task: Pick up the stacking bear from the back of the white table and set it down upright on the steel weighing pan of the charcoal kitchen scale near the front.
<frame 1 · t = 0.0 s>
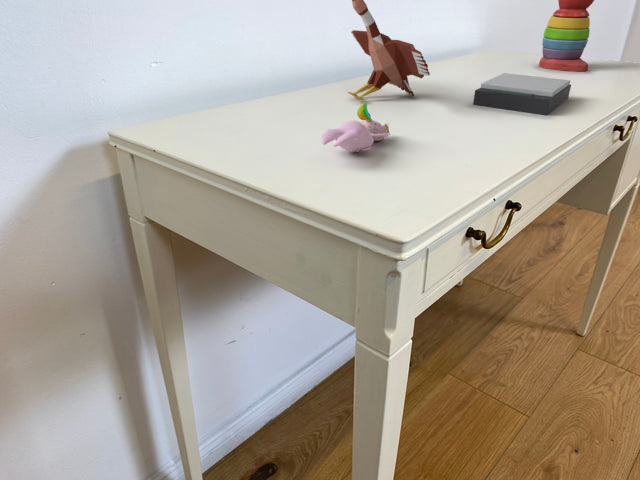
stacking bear: (560, 67, 117), on the table
scale: (521, 101, 87), on the table
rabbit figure: (356, 151, 64), on the table
decorative bird: (380, 98, 90), on the table
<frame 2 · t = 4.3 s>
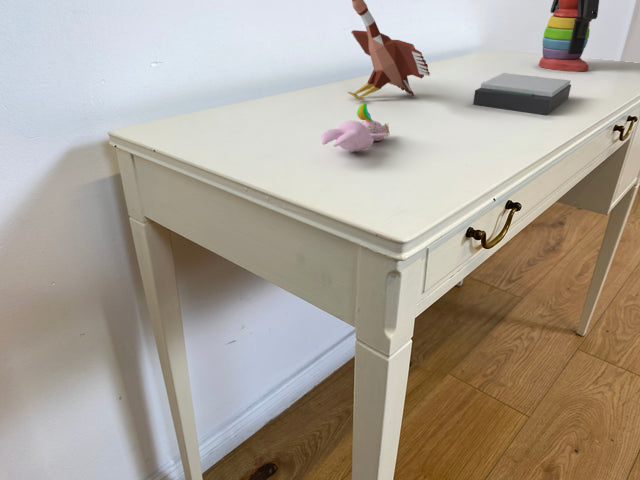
hand: (564, 50, 115), 4 cm above the table, tool pointing down, fingers closed on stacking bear, 9 cm apart
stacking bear: (560, 67, 117), on the table, touching gripper
everything else where it was.
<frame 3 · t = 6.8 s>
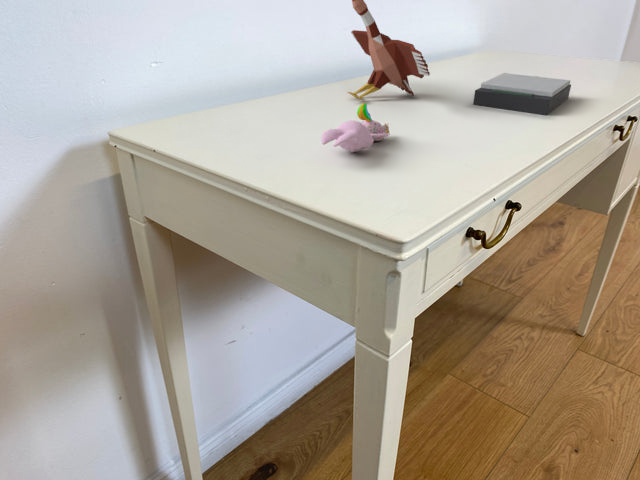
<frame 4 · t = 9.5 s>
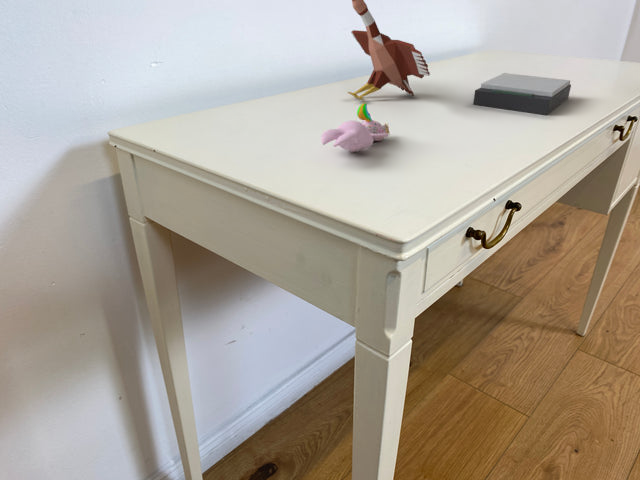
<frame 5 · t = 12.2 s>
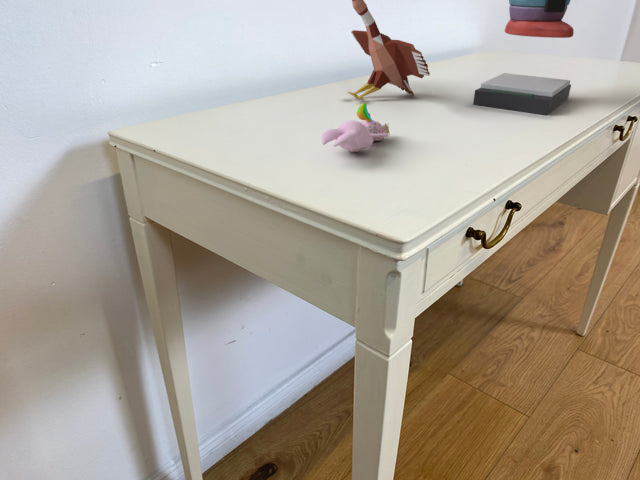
hand: (539, 9, 81), 14 cm above the table, tool pointing down, fingers closed on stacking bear, 9 cm apart
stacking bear: (535, 35, 82), point 11 cm above the table, touching gripper
everything else where it was.
when the fingers open (7 cm above the table, at t = 14.5 s): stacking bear stays where it is, resting on scale.
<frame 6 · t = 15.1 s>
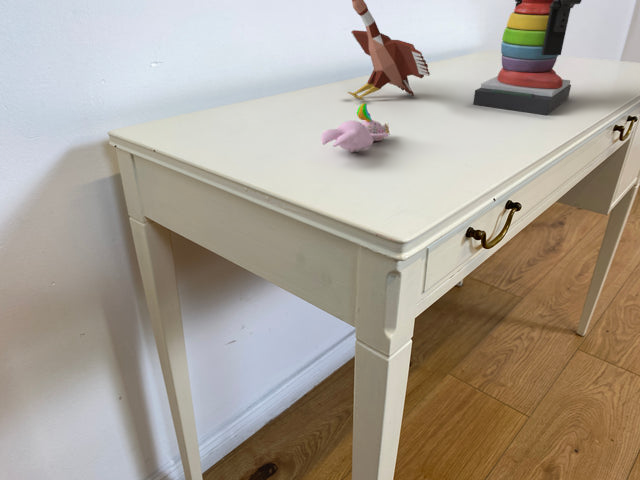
hand: (533, 48, 84), 9 cm above the table, tool pointing down, fingers open, 13 cm apart
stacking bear: (526, 83, 86), point 3 cm above the table, touching scale
everything else where it was.
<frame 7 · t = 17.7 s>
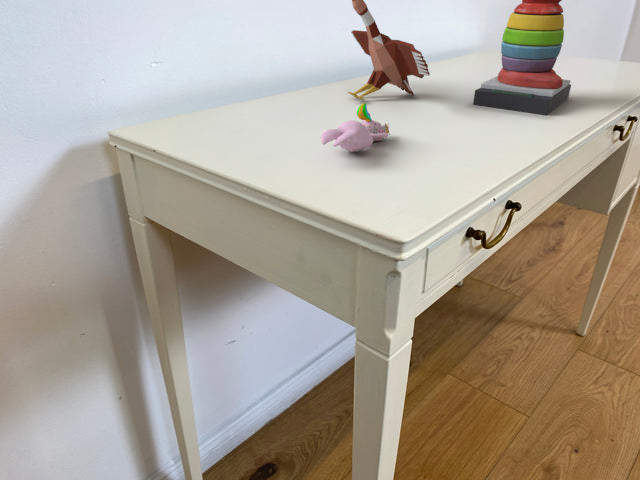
nothing on the table moved.
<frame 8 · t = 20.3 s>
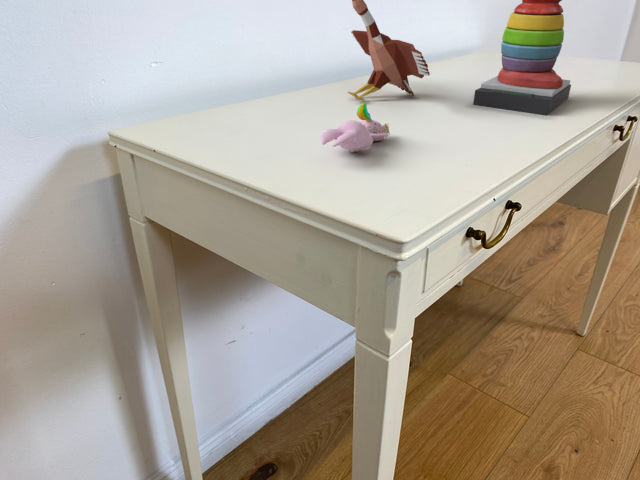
nothing on the table moved.
at the end: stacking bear inside the target area on the scale (0.7 cm from its centre), point 3.0 cm above the scale's base; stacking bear tilted 0°; the gripper is holding nothing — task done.
